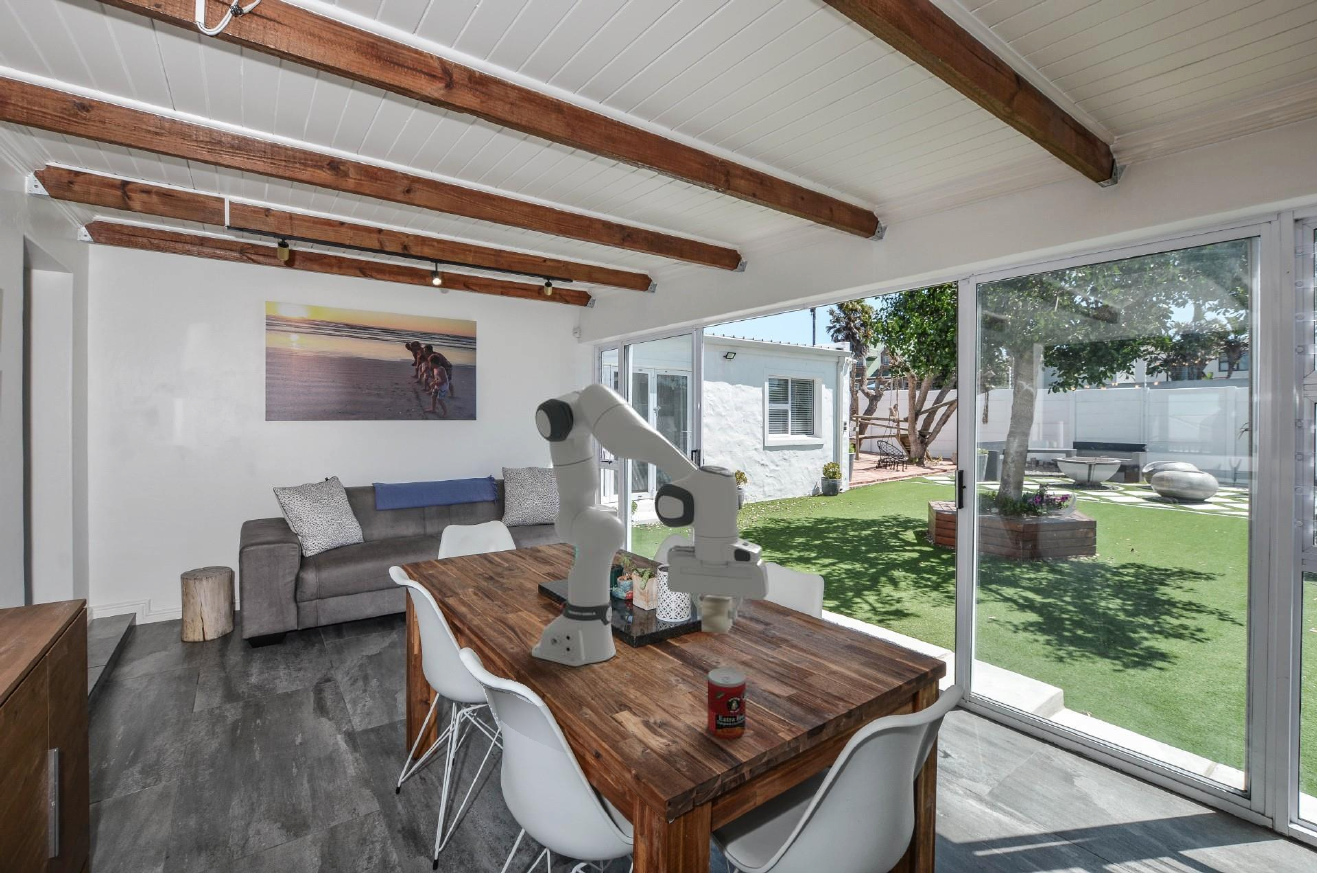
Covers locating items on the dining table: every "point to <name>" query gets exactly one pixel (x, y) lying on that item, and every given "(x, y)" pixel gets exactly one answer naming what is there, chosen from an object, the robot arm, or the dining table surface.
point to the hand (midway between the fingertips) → (717, 617)
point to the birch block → (716, 614)
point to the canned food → (726, 702)
